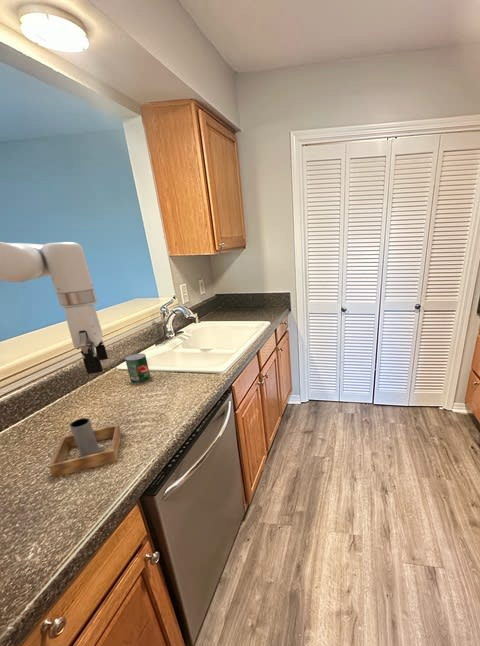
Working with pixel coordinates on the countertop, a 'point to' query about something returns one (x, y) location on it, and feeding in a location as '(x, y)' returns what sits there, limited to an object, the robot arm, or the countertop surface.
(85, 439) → the planter
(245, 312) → the countertop surface
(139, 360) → the canned tomato
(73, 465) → the wooden square frame
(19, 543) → the countertop surface
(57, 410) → the countertop surface
